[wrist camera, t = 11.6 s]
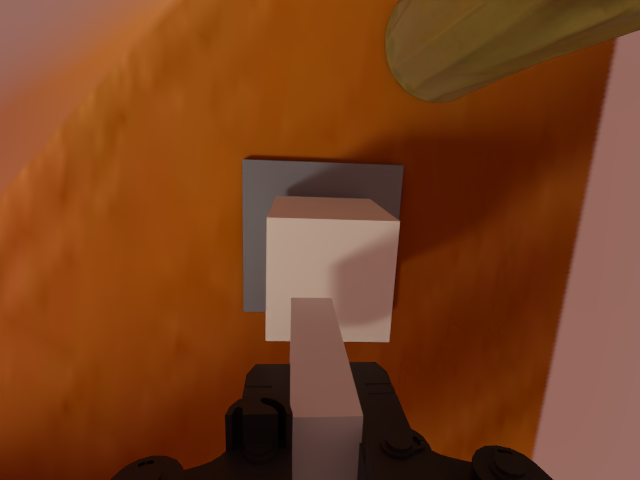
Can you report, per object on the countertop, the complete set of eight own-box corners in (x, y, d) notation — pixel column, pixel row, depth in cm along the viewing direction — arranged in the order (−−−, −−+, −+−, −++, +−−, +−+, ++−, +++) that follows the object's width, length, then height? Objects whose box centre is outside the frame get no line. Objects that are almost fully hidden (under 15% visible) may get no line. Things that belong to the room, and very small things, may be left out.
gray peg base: (244, 309, 24) (223, 374, 17) (243, 159, 22) (218, 165, 15) (389, 310, 24) (424, 374, 18) (401, 165, 22) (447, 173, 16)
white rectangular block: (274, 285, 23) (265, 340, 16) (275, 195, 21) (266, 217, 15) (363, 286, 23) (389, 342, 16) (369, 198, 22) (400, 221, 15)
